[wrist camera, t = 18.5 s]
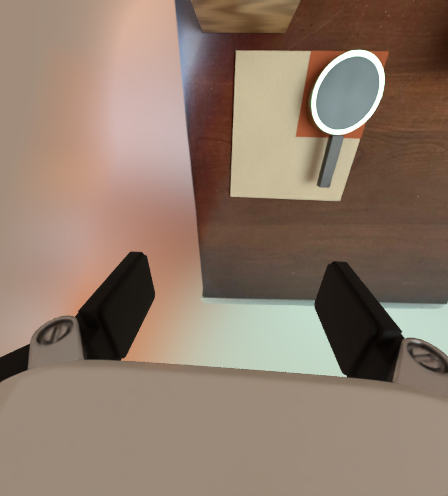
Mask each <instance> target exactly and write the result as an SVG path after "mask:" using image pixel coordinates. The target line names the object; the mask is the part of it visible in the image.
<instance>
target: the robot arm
mask: <svg viewBox="0 0 448 496" xmlns="http://www.w3.org/2000/svg"><path fill="white" fill-rule="evenodd" d="M154 298H155V291H154V286H153V282H152V277H151V273H150V268H149V263H148V259H147V256H146V255H144V254H143V253H142V252H130V253H129V254H128V255H127V256H126V257H125V258H124V259H123V261H122V262H121V263H120V264H119V265H118V266H117V267H116V269H115V270H114V271H113V272H112V273H111V274H110V275H109V276H108V278H107V279H106V280H105V281H104V282H103V283H102V285H101V286H100V287H99V288H98V289H97V290H96V291H95V292H94V294H93V295H92V296H91V297H90V298H89V299H88V300H87V302H86V303H85V304H84V305H83V306H82V307H81V308H80V310H79V311H78V312H79V313H78V314H77V315H76V316H75V317H73V316H61V317H58V318H55V319H53V320H50V321H48V322H47V323H45V324H44V325H42V326H41V327H40V328H39V329H38V330H36V332H35V333H34V334H33V336H32V338H31V341H30V344H28V345H26V346H24V347H22V348H20V349H17V350H15V351H13V352H11V353H9V354H7V355H5V356H2V357H0V496H448V356H447V355H446V354H444V353H443V352H442V351H441V350H439V349H438V348H437V347H435V346H433V345H432V344H430V343H428V342H426V341H423V340H421V339H416V338H406V339H405V338H404V337H403V336H402V334H401V332H402V331H401V330H400V328H399V327H398V326H397V325H396V323H395V322H394V321H393V320H392V318H391V317H390V316H389V315H388V313H387V312H386V311H385V310H384V308H383V307H382V306H381V305H380V303H379V302H378V301H377V300H376V298H375V297H374V296H373V295H372V293H371V292H370V291H369V290H368V288H367V287H366V286H365V285H364V283H363V282H362V281H361V280H360V278H359V277H358V276H357V275H356V273H355V272H354V271H353V270H352V268H351V267H350V266H349V265H348V263H347V262H337V261H333V262H332V263H331V264H328V266H327V269H326V271H325V274H324V277H323V280H322V283H321V286H320V289H319V292H318V294H317V297H316V300H315V310H316V312H317V314H318V317H319V319H320V321H321V324H322V326H323V329H324V331H325V333H326V336H327V338H328V341H329V343H330V345H331V348H332V350H333V352H334V354H335V357H336V360H337V362H338V364H339V366H340V369H341V371H342V373H343V374H344V375H347V377H337V376H325V375H312V374H300V373H287V372H275V371H262V370H248V369H234V368H221V367H208V366H193V365H179V364H165V363H149V362H135V361H121V359H122V358H125V357H126V355H127V353H128V351H129V349H130V347H131V345H132V343H133V341H134V339H135V337H136V335H137V333H138V331H139V329H140V327H141V325H142V322H143V321H144V319H145V317H146V315H147V313H148V311H149V309H150V307H151V305H152V302H153V300H154Z"/></svg>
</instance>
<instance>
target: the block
mask: <svg viewBox="0 0 448 496" xmlns="http://www.w3.org/2000/svg"><path fill="white" fill-rule="evenodd" d="M299 2H300V0H191V3H192V6H193V8H194V11H195V13H196V16H197V19H198V21H199V24H200V27H201V29H202V32H203V33H285V32H286V30H287V28H288V26H289V23H290V21H291V19H292V17H293V15H294V13H295V11H296V9H297V7H298V4H299Z"/></svg>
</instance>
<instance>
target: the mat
mask: <svg viewBox="0 0 448 496" xmlns="http://www.w3.org/2000/svg"><path fill="white" fill-rule="evenodd" d="M345 52H347V51H236V60H235V86H234V112H233V138H232V164H231V190H230V196H231V197H255V198H279V199H303V200H327V201H340V199H341V196H342V193H343V190H344V187H345V184H346V181H347V178H348V174H349V171H350V168H351V165H352V162H353V159H354V156H355V153H356V150H357V147H358V144H359V141H360V139H361V136H362V133H363V130H364V127H365V124H366V122H365V123H364V124H363V125H361V126H360V127H359V128H357V129H356V130H354V131H352V132H349V133H347V134H342V135H344V139H343V143H342V146H341V149H340V153H339V156H338V160H337V163H336V167H335V170H334V174H333V177H332V181H331V184H330V187H329V188H322V187H318V186H317V181H318V177H319V173H320V169H321V165H322V161H323V157H324V153H325V149H326V145H327V141H328V138H329V135H328V134H322V133H320V132H318V131H316V130H315V129H314V128H313V127H312V126H311V124H310V123H309V121H308V118H307V115H306V108H305V107H306V97H307V93H308V90H309V87H310V85H311V83H312V81H313V79H314V78H315V76H316V75H317V74H318V72H319V71H320V70H321V69H322V68H323V67H324V66H325V65H327V64H328V63H329V62H331V61H332V60H333V59H335V58H336V57H337V56H339V55H341V54H343V53H345ZM369 52H371V53H373V54H374V55H376V56H377V58H378V59H379V60H380V62H381V64H382V66H383V69H384V66H385V63H386V60H387V57H388V54H389V51H369Z"/></svg>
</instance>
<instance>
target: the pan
mask: <svg viewBox="0 0 448 496" xmlns="http://www.w3.org/2000/svg"><path fill="white" fill-rule="evenodd" d="M384 85H385V74H384V69H383V66H382V64H381V62H380V60H379V59H378V58H377V56H376V55H374V54H373V53H371V52H369V51H367V50H362V49H356V50H350V51H347V52H345V53H343V54H341V55H339V56H337V57H336V58H335V59H333V60H332V61H331V62H329V63H328V64H327V65H325V66H324V67H323V68H322V69H321V70H320V71H319V72H318V74H317V75H316V76H315V78H314V79H313V81H312V83H311V85H310V87H309V90H308V93H307V97H306V107H305V108H306V115H307V118H308V121H309V123H310V124H311V126H312V127H313V128H314V129H315V130H316V131H318V132H320V133H322V134H328V135H329V138H328V141H327V145H326V149H325V153H324V157H323V161H322V165H321V169H320V173H319V177H318V181H317V186H318V187H322V188H329V187H330V184H331V181H332V177H333V174H334V170H335V167H336V163H337V160H338V156H339V153H340V149H341V146H342V143H343V139H344V135H342V134H347V133H349V132H352V131H354V130H356V129H357V128H359V127H360V126H361V125H363V124H364V123H365V122H366V121H367V120H368V119H369V118H370V117H371V115H372V114H373V113H374V111H375V110H376V108H377V106H378V104H379V102H380V100H381V97H382V94H383V91H384Z"/></svg>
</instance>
